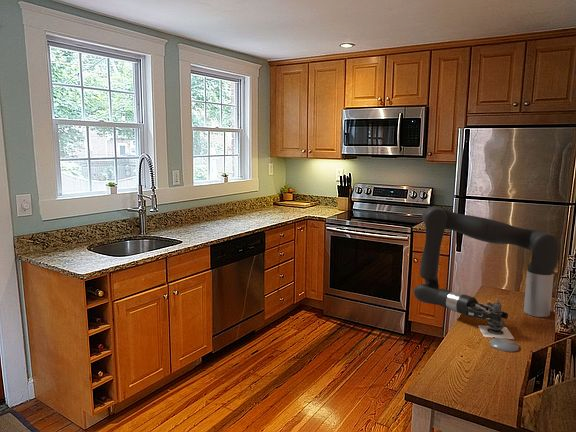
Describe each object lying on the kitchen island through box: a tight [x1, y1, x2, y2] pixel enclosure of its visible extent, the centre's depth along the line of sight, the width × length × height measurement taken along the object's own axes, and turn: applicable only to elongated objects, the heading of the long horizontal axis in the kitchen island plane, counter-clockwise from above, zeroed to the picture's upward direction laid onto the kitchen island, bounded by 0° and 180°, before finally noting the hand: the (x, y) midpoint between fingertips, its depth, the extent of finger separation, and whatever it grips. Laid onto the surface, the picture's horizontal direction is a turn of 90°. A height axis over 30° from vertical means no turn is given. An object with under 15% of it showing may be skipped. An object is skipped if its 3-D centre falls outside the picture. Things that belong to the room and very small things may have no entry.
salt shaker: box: [486, 300, 506, 335], centre depth 157 cm, size 6×6×12 cm
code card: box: [477, 324, 515, 340], centre depth 158 cm, size 10×10×1 cm
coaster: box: [489, 338, 520, 353], centre depth 148 cm, size 9×9×1 cm
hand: (504, 317), depth 155 cm, fingers closed on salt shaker, 3 cm apart
